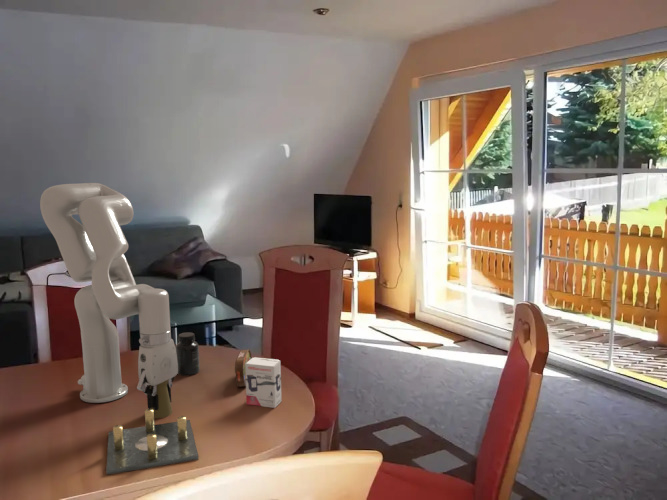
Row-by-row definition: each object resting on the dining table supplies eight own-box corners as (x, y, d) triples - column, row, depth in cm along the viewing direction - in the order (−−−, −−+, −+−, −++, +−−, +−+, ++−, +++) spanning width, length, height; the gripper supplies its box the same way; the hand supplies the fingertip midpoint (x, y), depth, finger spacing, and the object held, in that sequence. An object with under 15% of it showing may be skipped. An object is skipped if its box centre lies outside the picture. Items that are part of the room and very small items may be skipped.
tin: (245, 391, 172) (244, 362, 170) (234, 391, 172) (233, 362, 170) (253, 372, 186) (252, 345, 185) (243, 372, 187) (242, 345, 185)
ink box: (245, 404, 162) (244, 362, 160) (253, 397, 167) (252, 356, 165) (275, 408, 160) (274, 365, 158) (282, 401, 164) (281, 359, 162)
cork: (159, 420, 153) (156, 378, 151) (143, 415, 156) (140, 374, 155) (177, 411, 158) (174, 371, 157) (161, 406, 161) (158, 367, 160)
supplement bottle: (196, 366, 191) (195, 330, 190) (202, 373, 185) (200, 336, 183) (175, 370, 189) (172, 333, 187) (179, 377, 182) (177, 339, 181)
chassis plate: (106, 474, 127) (104, 448, 126) (108, 435, 145) (107, 412, 144) (198, 459, 133) (197, 433, 132) (189, 423, 151) (188, 400, 150)
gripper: (143, 349, 145) (147, 421, 148) (188, 330, 160) (192, 396, 163) (120, 345, 148) (124, 415, 151) (166, 327, 163) (170, 391, 166)
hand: (159, 404), depth 157 cm, fingers closed on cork, 4 cm apart
